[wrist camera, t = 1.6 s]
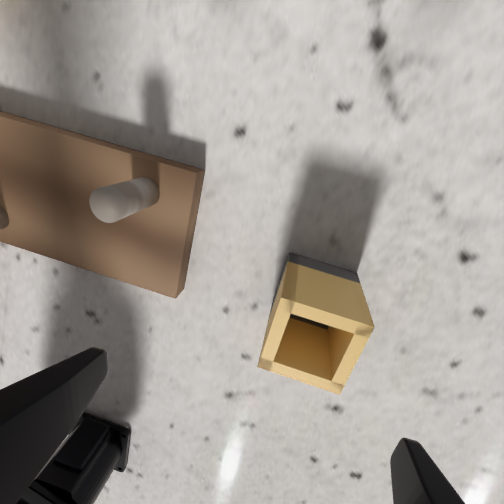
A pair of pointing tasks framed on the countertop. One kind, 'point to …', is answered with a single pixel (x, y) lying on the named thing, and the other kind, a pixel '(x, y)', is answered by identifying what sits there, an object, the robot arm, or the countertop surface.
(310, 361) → the loose sleeve
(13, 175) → the pin board
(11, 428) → the robot arm
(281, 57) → the countertop surface
